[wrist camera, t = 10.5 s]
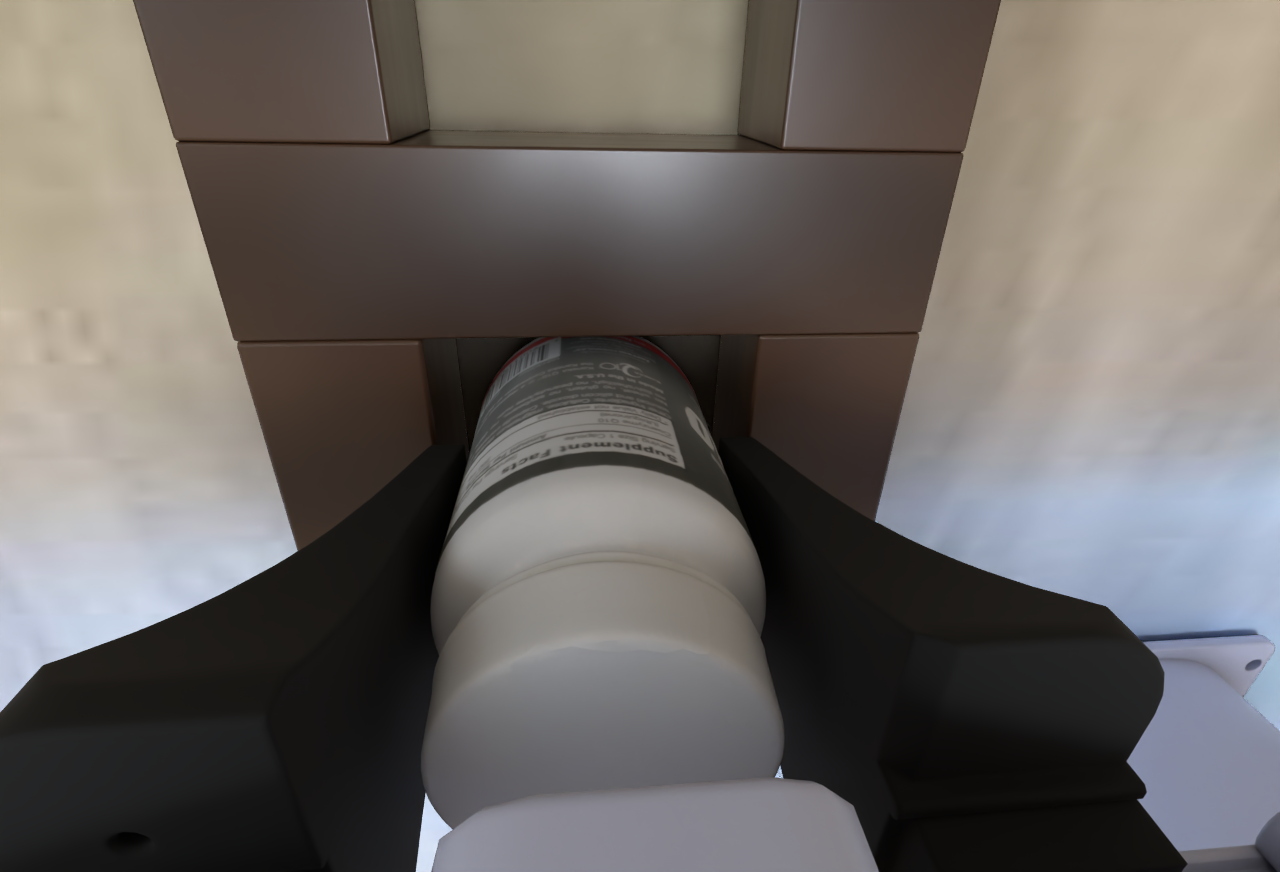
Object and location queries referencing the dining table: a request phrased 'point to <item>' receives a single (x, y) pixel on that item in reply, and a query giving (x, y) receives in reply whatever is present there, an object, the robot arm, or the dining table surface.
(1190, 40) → the dining table surface
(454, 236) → the holder frame
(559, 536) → the pill bottle
